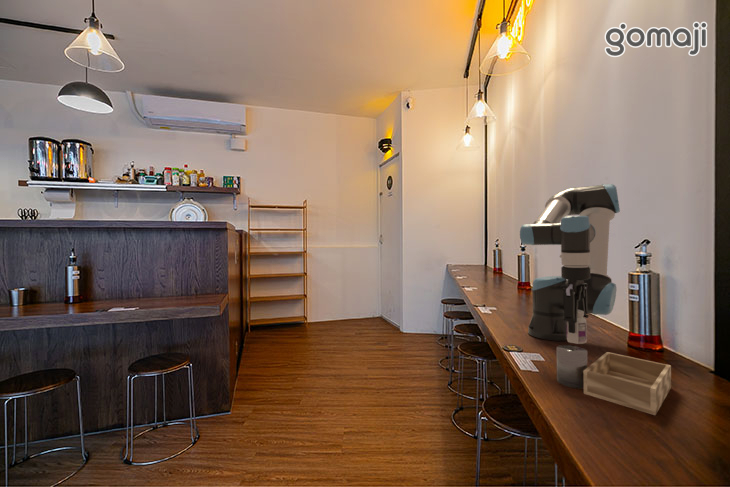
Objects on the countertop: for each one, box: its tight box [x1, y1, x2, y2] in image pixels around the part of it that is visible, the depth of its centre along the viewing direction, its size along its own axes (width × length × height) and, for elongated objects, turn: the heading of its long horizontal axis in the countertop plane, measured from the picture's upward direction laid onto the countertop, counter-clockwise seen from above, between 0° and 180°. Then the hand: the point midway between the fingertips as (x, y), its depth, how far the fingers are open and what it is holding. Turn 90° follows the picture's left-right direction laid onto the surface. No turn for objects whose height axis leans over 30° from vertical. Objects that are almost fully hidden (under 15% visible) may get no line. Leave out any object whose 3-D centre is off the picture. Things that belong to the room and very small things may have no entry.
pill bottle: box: [566, 310, 588, 345], centre depth 102 cm, size 5×5×10 cm
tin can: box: [556, 344, 588, 389], centre depth 88 cm, size 7×7×9 cm
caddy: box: [583, 351, 672, 416], centre depth 83 cm, size 20×14×6 cm
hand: (576, 340), depth 102 cm, fingers closed on pill bottle, 5 cm apart
